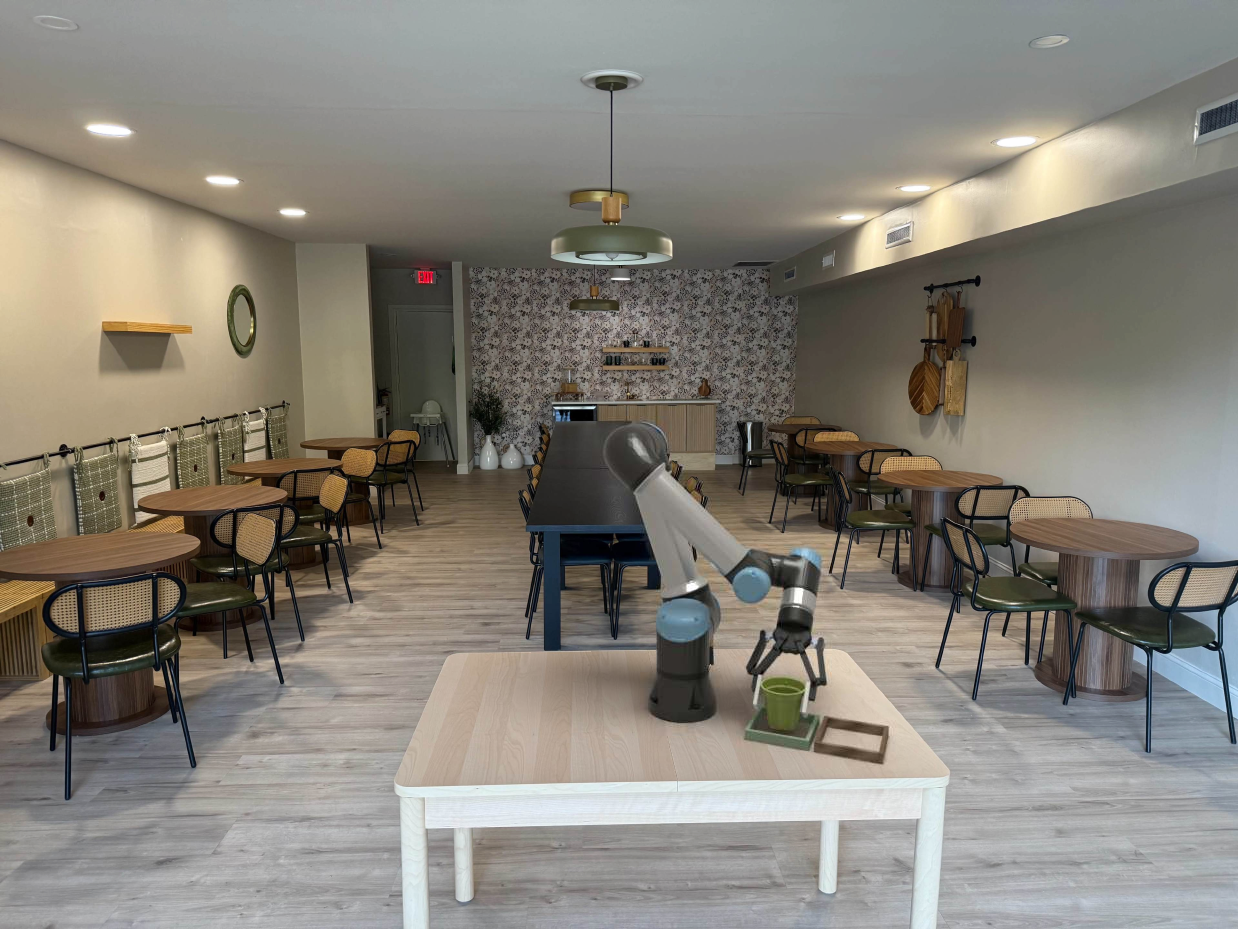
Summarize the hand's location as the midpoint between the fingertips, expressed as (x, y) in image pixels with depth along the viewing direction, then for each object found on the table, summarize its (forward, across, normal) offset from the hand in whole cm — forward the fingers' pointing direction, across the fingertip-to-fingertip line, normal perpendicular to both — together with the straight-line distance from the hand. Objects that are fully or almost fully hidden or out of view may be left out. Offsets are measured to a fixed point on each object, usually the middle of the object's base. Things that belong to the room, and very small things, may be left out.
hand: (779, 710), depth 165 cm
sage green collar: (+2, 0, -6) cm, 7 cm away
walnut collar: (+2, -14, -6) cm, 16 cm away
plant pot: (+1, 0, -6) cm, 6 cm away
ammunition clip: (-18, +29, -27) cm, 44 cm away
